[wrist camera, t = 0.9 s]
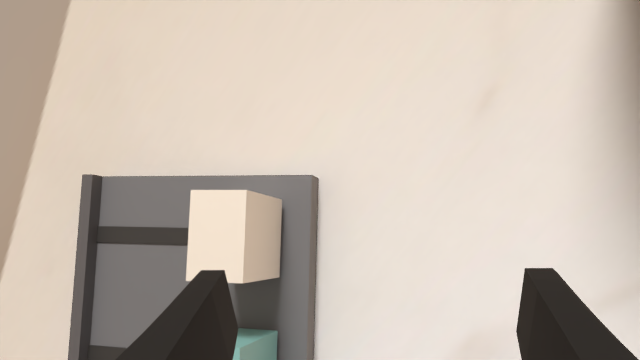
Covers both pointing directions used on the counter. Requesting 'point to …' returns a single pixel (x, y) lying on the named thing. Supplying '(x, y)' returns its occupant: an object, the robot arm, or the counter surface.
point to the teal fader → (256, 344)
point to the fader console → (182, 261)
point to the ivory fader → (234, 234)
